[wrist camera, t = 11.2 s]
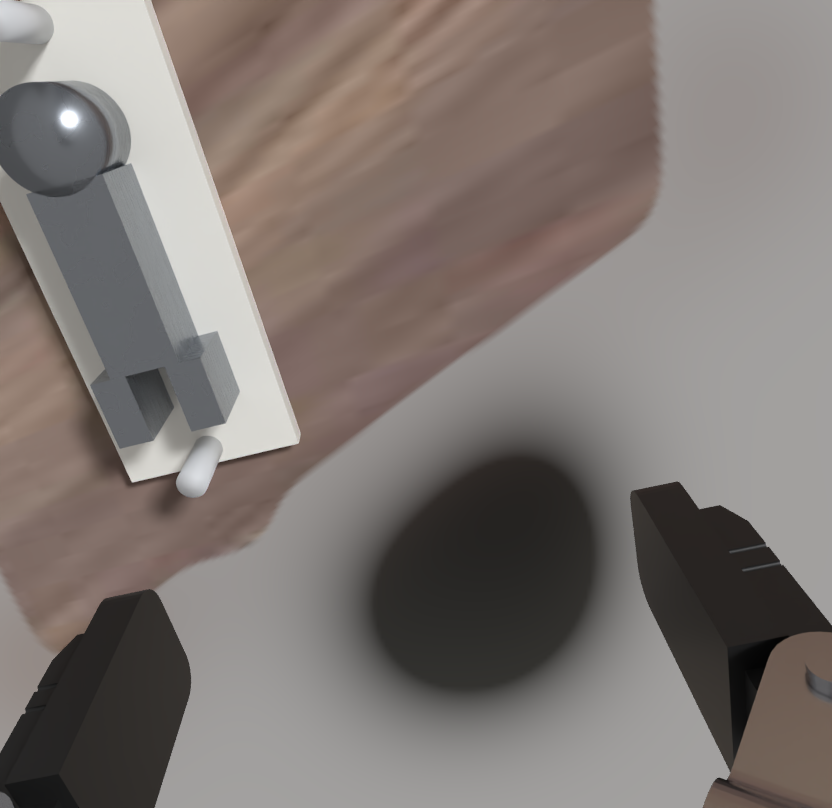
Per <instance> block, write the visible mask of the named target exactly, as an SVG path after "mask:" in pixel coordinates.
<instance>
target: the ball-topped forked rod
mask: <svg viewBox="0 0 832 808" xmlns="http://www.w3.org/2000/svg"><path fill="white" fill-rule="evenodd" d="M130 149H131V134H130V128H129V125H128V122H127V120H126V117H125V115H124V113H123V112H122V110H121V108H120V107H119V106H118V104H117V103H116V102H115V101H114V100H113V99H112V98H111V97H110V96H109V95H108V94H107V93H106V92H104V91H103V90H101V89H100V88H98V87H96V86H94V85H91V84H89V83H86V82H81V81H73V80H72V81H46V82H27V83H21V84H18V85H16V86H13V87H11V88H10V89H8V90H7V91H5V92H4V93H3V94H2V95H1V96H0V165H1V167H2V168H3V170H4V171H5V172H6V173H7V174H8V175H9V176H10V177H11V178H12V179H13V180H14V181H15V182H16V183H18V184H19V185H20V186H22V187H23V188H25V189H27V190H29V191H31V193H28V194H26V195H27V198H28V200H29V202H30V204H31V206H32V209H33V211H34V213H35V215H36V217H37V220H38V222H39V224H40V226H41V228H42V231H43V233H44V235H45V237H46V239H47V242H48V244H49V246H50V248H51V250H52V253H53V255H54V257H55V259H56V261H57V264H58V266H59V268H60V270H61V272H62V275H63V277H64V279H65V281H66V283H67V286H68V288H69V290H70V292H71V294H72V297H73V299H74V301H75V303H76V306H77V308H78V310H79V312H80V314H81V317H82V319H83V321H84V323H85V325H86V328H87V330H88V332H89V334H90V336H91V339H92V341H93V343H94V345H95V347H96V350H97V352H98V354H99V356H100V358H101V361H102V363H103V365H104V367H105V369H104V371H103V372H102V373H101V374H100V375H99V376H98V377H97V378H96V379H95V380H94V381H93V382H92V383H91V385H90V386H91V389H92V391H93V393H94V395H95V397H96V399H97V401H98V404H99V406H100V408H101V410H102V412H103V414H104V416H105V419H106V421H107V423H108V425H109V427H110V429H111V431H112V433H113V436H114V438H115V440H116V442H117V444H118V446H119V448H120V449H121V448H125V447H129V446H134V445H138V444H142V443H146V442H150V441H154V439H155V438H156V436H157V434H158V433H159V431H160V430H161V428H162V426H163V425H164V423H165V421H166V420H167V418H168V417H169V415H170V413H171V412H172V410H173V409H174V406H173V403H172V401H171V399H170V396H169V394H168V392H167V389H166V387H165V384H164V382H163V380H162V377H161V375H160V373H159V370H158V368H162V367H165V369H166V372H167V374H168V377H169V379H170V381H171V384H172V386H173V389H174V391H175V393H176V396H177V398H178V401H179V403H180V405H181V408H182V410H183V413H184V415H185V417H186V420H187V422H188V425H189V427H190V429H191V432H192V431H196V430H200V429H204V428H209V427H213V426H217V425H221V424H225V423H226V422H227V419H228V417H229V415H230V413H231V411H232V408H233V406H234V404H235V402H236V399H237V397H238V395H239V393H240V390H239V387H238V385H237V382H236V379H235V377H234V374H233V371H232V369H231V366H230V363H229V361H228V358H227V356H226V353H225V350H224V348H223V345H222V342H221V340H220V337H219V334H218V332H217V331H215V332H211V333H207V334H203V335H199V336H198V333H197V331H196V328H195V326H194V323H193V321H192V318H191V315H190V313H189V310H188V308H187V305H186V303H185V300H184V297H183V295H182V292H181V290H180V287H179V285H178V282H177V279H176V277H175V274H174V272H173V269H172V267H171V264H170V261H169V259H168V256H167V254H166V251H165V249H164V246H163V243H162V241H161V238H160V236H159V233H158V231H157V228H156V225H155V223H154V220H153V218H152V215H151V213H150V210H149V207H148V205H147V202H146V200H145V197H144V195H143V192H142V189H141V187H140V184H139V182H138V179H137V176H136V174H135V171H134V169H133V166H132V164H131V163H130V164H127V165H125V164H126V162H127V160H128V157H129V154H130Z"/></svg>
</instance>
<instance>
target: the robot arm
mask: <svg viewBox="0 0 832 808" xmlns="http://www.w3.org/2000/svg"><path fill="white" fill-rule="evenodd" d="M630 500H631V510H632V519H633V527H634V537H635V545H636V553H637V563H638V570H639V575H640V580H641V584H642V587H643V591H644V594H645V597H646V600H647V602H648V604H649V607H650V609H651V611H652V613H653V615H654V617H655V619H656V621H657V623H658V625H659V627H660V629H661V631H662V633H663V635H664V637H665V640H666V642H667V644H668V646H669V648H670V650H671V652H672V654H673V656H674V658H675V660H676V662H677V664H678V666H679V668H680V670H681V672H682V674H683V676H684V678H685V680H686V682H687V684H688V687H689V688H690V690H691V692H692V695H693V697H694V699H695V701H696V703H697V705H698V707H699V709H700V711H701V713H702V715H703V717H704V719H705V721H706V723H707V725H708V727H709V729H710V731H711V733H712V735H713V737H714V739H715V742H716V744H717V745H718V748H719V750H720V752H721V754H722V756H723V758H724V760H725V762H726V764H727V766H728V768H729V770H730V775H729V777H728V779H727V780H724V779H722V778H717V779H716V780H715V781H714V782H713V784H712V786H711V788H710V790H709V792H708V795H707V797H706V800H705V802H704V805H703V808H832V625H831V624H830V623H829V622H828V620H827V619H826V618H825V617H824V615H823V614H822V613H821V612H820V610H819V609H818V608H817V607H816V605H815V604H814V603H813V602H812V600H811V599H810V598H809V597H808V595H807V594H806V593H805V592H804V590H803V589H802V588H801V587H800V585H799V584H798V583H797V582H796V581H795V579H794V578H793V577H792V575H791V574H790V573H789V572H788V570H787V569H786V568H785V567H784V566H783V565H782V566H781V564H780V560H779V559H778V558H777V557H776V555H775V554H774V553H773V552H772V550H771V549H770V548H769V547H766V544H765V542H764V540H763V539H762V538H761V537H760V535H759V534H758V533H757V532H756V530H755V529H754V528H753V527H752V525H751V524H750V523H749V522H748V521H747V520H745V519H743V518H742V517H740V516H738V515H736V514H735V513H733V512H731V511H729V510H727V509H726V508H724V507H722V506H720V505H719V506H714V507H709V508H704V509H698V507H697V506H696V504H695V503H694V501H693V500H692V499H691V497H690V496H689V494H688V493H687V492H686V490H685V489H684V488H683V486H682V485H681V484H680V483H679V482H673V483H668V484H663V485H658V486H653V487H649V488H644V489H639V490H634V491H632V492H631V496H630ZM190 688H191V673H190V667H189V662H188V659H187V656H186V654H185V652H184V649H183V647H182V645H181V643H180V641H179V639H178V636H177V634H176V632H175V630H174V628H173V625H172V623H171V621H170V619H169V617H168V615H167V613H166V610H165V608H164V606H163V604H162V602H161V600H160V598H159V596H158V595H157V593H156V592H155V591H153V590H150V589H148V590H143V591H139V592H134V593H129V594H124V595H119V596H114V597H110V598H106V599H104V600H103V601H102V602H101V604H100V605H99V607H98V609H97V611H96V613H95V615H94V616H93V618H92V620H91V622H90V624H89V626H88V628H87V630H86V632H85V633H84V634H80V635H77V636H76V637H75V638H74V639H73V640H72V641H71V642H70V643H69V644H68V645H67V646H66V647H65V648H64V649H63V650H62V651H61V652H60V653H59V654H58V655H57V656H56V657H55V658H54V659H53V660H52V662H51V664H50V665H49V667H48V669H47V671H46V673H45V674H44V676H43V678H42V680H41V681H40V683H39V685H38V692H34V694H33V696H32V698H31V699H30V701H29V703H28V705H27V707H26V708H25V710H26V713H25V714H22V715H21V717H20V719H19V721H18V722H17V724H16V726H15V728H14V729H13V731H12V733H11V735H10V737H9V738H8V740H7V742H6V744H5V746H4V747H3V749H2V751H1V753H0V808H154V807H155V804H156V801H157V798H158V795H159V791H160V788H161V785H162V782H163V778H164V775H165V772H166V769H167V766H168V762H169V759H170V756H171V753H172V750H173V746H174V743H175V740H176V737H177V734H178V730H179V727H180V724H181V721H182V717H183V714H184V711H185V708H186V705H187V702H188V698H189V695H190Z"/></svg>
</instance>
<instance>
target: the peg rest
mask: <svg viewBox="0 0 832 808" xmlns="http://www.w3.org/2000/svg"><path fill="white" fill-rule="evenodd" d="M72 80H73V81H81V82H86V83H89V84H91V85H94V86H96V87H98V88H100V89H101V90H103V91H104V92H106V93H107V94H108V95H109V96H110V97H111V98H112V99H113V100H114V101H115V102H116V103H117V104H118V106H119V107H120V108H121V110H122V112H123V113H124V115H125V117H126V120H127V122H128V125H129V128H130V134H131V149H130V154H129V157H128V160H127V162H126V164H125V165H127V164H130V163H131V164H132V166H133V169H134V171H135V174H136V176H137V179H138V182H139V184H140V187H141V189H142V192H143V195H144V197H145V200H146V202H147V205H148V207H149V210H150V213H151V215H152V218H153V220H154V223H155V225H156V228H157V231H158V233H159V236H160V238H161V241H162V243H163V246H164V249H165V251H166V254H167V256H168V259H169V261H170V264H171V267H172V269H173V272H174V274H175V277H176V279H177V282H178V285H179V287H180V290H181V292H182V295H183V297H184V300H185V303H186V305H187V308H188V310H189V313H190V315H191V318H192V321H193V323H194V326H195V328H196V331H197V333H198V336H199V335H203V334H207V333H211V332H215V331H217V332H218V334H219V337H220V340H221V342H222V345H223V348H224V350H225V353H226V356H227V358H228V361H229V363H230V366H231V369H232V371H233V374H234V377H235V379H236V382H237V385H238V387H239V390H240V393H239V395H238V397H237V399H236V402H235V404H234V406H233V408H232V411H231V413H230V415H229V417H228V419H227V422H226V423H225V424H221V425H217V426H213V427H209V428H204V429H200V430H196V431H192V432H191V429H190V427H189V425H188V422H187V420H186V417H185V415H184V413H183V410H182V408H181V405H180V403H179V401H178V398H177V396H176V393H175V391H174V389H173V386H172V384H171V381H170V379H169V377H168V374H167V372H166V369H165V367H162V368H158V370H159V373H160V375H161V377H162V380H163V382H164V384H165V387H166V389H167V392H168V394H169V396H170V399H171V401H172V403H173V406H174V409H173V410H172V412H171V413H170V415H169V417H168V418H167V420H166V421H165V423H164V425H163V426H162V428H161V430H160V431H159V433H158V434H157V436H156V438H155V439H154V441H150V442H146V443H142V444H138V445H134V446H129V447H125V448H121V449H120V448H119V446H118V444H117V442H116V440H115V438H114V436H113V433H112V431H111V429H110V427H109V425H108V423H107V421H106V419H105V416H104V414H103V412H102V410H101V408H100V406H99V404H98V401H97V399H96V397H95V395H94V393H93V391H92V389H91V386H90V385H91V383H92V382H93V381H94V380H95V379H96V378H97V377H98V376H99V375H100V374H101V373H102V372H103V371H104V369H105V367H104V365H103V363H102V361H101V358H100V356H99V354H98V352H97V350H96V347H95V345H94V343H93V341H92V339H91V336H90V334H89V332H88V330H87V328H86V325H85V323H84V321H83V319H82V317H81V314H80V312H79V310H78V308H77V306H76V303H75V301H74V299H73V297H72V294H71V292H70V290H69V288H68V286H67V283H66V281H65V279H64V277H63V275H62V272H61V270H60V268H59V266H58V264H57V261H56V259H55V257H54V255H53V253H52V250H51V248H50V246H49V244H48V242H47V239H46V237H45V235H44V233H43V231H42V228H41V226H40V224H39V222H38V220H37V217H36V215H35V213H34V211H33V209H32V206H31V204H30V202H29V200H28V198H27V195H26V194H28V193H31V191H29V190H27V189H25V188H23V187H22V186H20V185H19V184H18V183H16V182H15V181H14V180H13V179H12V178H11V177H10V176H9V175H8V174H7V173H6V172H5V171H4V170H3V168H2V167H1V165H0V202H1V204H2V206H3V209H4V211H5V213H6V215H7V217H8V219H9V221H10V224H11V226H12V228H13V230H14V232H15V234H16V236H17V238H18V241H19V243H20V245H21V247H22V249H23V251H24V253H25V255H26V258H27V260H28V262H29V264H30V266H31V268H32V270H33V273H34V275H35V277H36V279H37V281H38V283H39V285H40V287H41V290H42V292H43V294H44V296H45V298H46V300H47V302H48V305H49V307H50V309H51V311H52V313H53V315H54V317H55V319H56V322H57V324H58V326H59V328H60V330H61V332H62V334H63V337H64V339H65V341H66V343H67V345H68V347H69V349H70V351H71V354H72V356H73V358H74V360H75V362H76V364H77V366H78V368H79V371H80V373H81V375H82V377H83V379H84V381H85V383H86V386H87V388H88V390H89V392H90V394H91V396H92V398H93V400H94V403H95V405H96V407H97V409H98V411H99V413H100V415H101V418H102V420H103V422H104V424H105V426H106V428H107V430H108V432H109V435H110V437H111V439H112V441H113V443H114V445H115V447H116V450H117V452H118V454H119V456H120V458H121V460H122V462H123V464H124V467H125V469H126V471H127V473H128V475H129V477H130V479H131V482H132V483H133V482H137V481H141V480H145V479H150V478H154V477H158V476H162V475H167V474H171V473H175V472H179V471H181V472H180V474H179V475H178V477H177V480H176V486H177V489H178V490H179V491H180V493H182V494H183V495H185V496H187V497H191V498H195V497H199V496H202V495H203V494H204V493H205V492H206V490H207V488H208V485H209V483H210V481H211V478H212V476H213V474H214V471H215V469H216V467H217V464H218V462H222V461H226V460H230V459H235V458H239V457H243V456H247V455H252V454H256V453H260V452H264V451H269V450H273V449H277V448H281V447H286V446H290V445H294V444H298V443H299V440H300V435H301V433H300V430H299V427H298V424H297V421H296V418H295V416H294V413H293V410H292V407H291V404H290V401H289V398H288V395H287V392H286V390H285V387H284V384H283V381H282V378H281V375H280V372H279V369H278V366H277V364H276V361H275V358H274V355H273V352H272V349H271V346H270V343H269V340H268V337H267V335H266V332H265V329H264V326H263V323H262V320H261V317H260V314H259V311H258V309H257V306H256V303H255V300H254V297H253V294H252V291H251V288H250V285H249V283H248V280H247V277H246V274H245V271H244V268H243V265H242V262H241V259H240V256H239V254H238V251H237V248H236V245H235V242H234V239H233V236H232V233H231V230H230V228H229V225H228V222H227V219H226V216H225V213H224V210H223V207H222V204H221V202H220V199H219V196H218V193H217V190H216V187H215V184H214V181H213V178H212V175H211V173H210V170H209V167H208V164H207V161H206V158H205V155H204V152H203V149H202V147H201V144H200V141H199V138H198V135H197V132H196V129H195V126H194V123H193V121H192V118H191V115H190V112H189V109H188V106H187V103H186V100H185V97H184V95H183V92H182V89H181V86H180V83H179V80H178V77H177V74H176V71H175V68H174V66H173V63H172V60H171V57H170V54H169V51H168V48H167V45H166V42H165V40H164V37H163V34H162V31H161V28H160V25H159V22H158V19H157V16H156V14H155V11H154V8H153V5H152V2H151V0H22V1H14V0H0V96H1V95H2V94H3V93H4V92H5V91H7V90H8V89H10V88H11V87H13V86H16V85H18V84H21V83H27V82H46V81H72Z"/></svg>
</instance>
